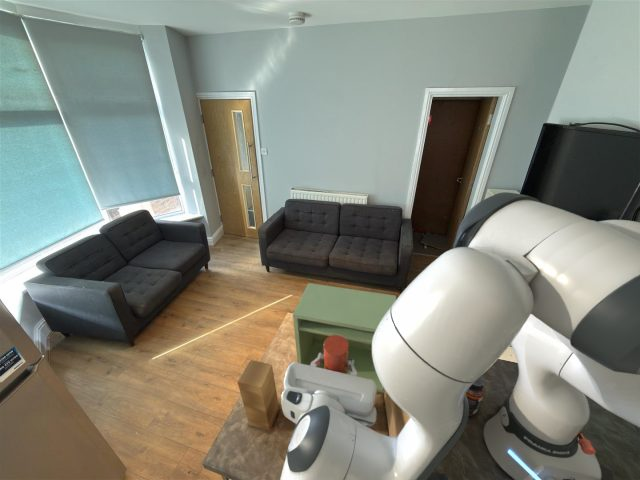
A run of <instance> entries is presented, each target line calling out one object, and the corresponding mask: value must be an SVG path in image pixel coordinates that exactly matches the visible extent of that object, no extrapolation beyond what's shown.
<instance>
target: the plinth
mask: <svg viewBox="0 0 640 480" xmlns="http://www.w3.org/2000/svg"><path fill="white" fill-rule="evenodd" d="M237 386H238V390H239V393H240V397H241V400H242V404H243V407H244V411H245V416H246V420H247V423H248V426H252V427H255V428H258V429H262V430H266V431H269V432H271V431H272V428H273V425H274V422H275V419H276V417H277V415H278V412H279V409H280V404H279V397H278V392H277V386H276V380H275V375H274V369H273V364H272V363H267V362H264V361H257V360H255V359H249V360H248V362H247V364H246V366H245V367H244V369H243V370H242V373H240V376H239V378H238V379H237Z"/></svg>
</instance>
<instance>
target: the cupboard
mask: <svg viewBox="0 0 640 480" xmlns="http://www.w3.org/2000/svg"><path fill="white" fill-rule="evenodd" d="M396 300H397V295H394V294H387V293H382V292H381V293H380V292H374V291H368V290H367V291H366V290H359V289H355V288H354V289H353V288H346V287H339V286H333V285H332V286H331V285H326V284H319V283H312V282H308V283H307V285H306V287H305V289H304V290H303V292H302V295H301V297H300V299H299V301H298V303H297V305H296V307H295V309H294V311H293V313H292V320H293V330H294V340H295V350H296V361H297V362H296V363H300V364H305V365H309V366H310V365H311V362H312V361H314V360H315V359H316V358H318V355H319V353H323V354H324V341H325V340H326V339H327V338H328V337H329V336H332V335H339V336H342V337H344V338H345V339H346V340H347V341H348V344H349V352H348V359H352V360H354V367H355V369H356V372H357V376H358V377H363V378H367V379H371V380H374V381H375V383H376V384H377V393H381V394H385V389H384V387H383V386H382V384H381V382H380V380H379V378H378V375H377V373H376V370H375V367H374V363H373V358H372V339H373V336H374V333H375V331H376V329H377V327H378V325H379V323H380V321H381V320H382V318H383V317H384V315H385V314H386V313H387V311H388V310H389V309H390V307H391V306H392V305H393V303H394V302H395V301H396ZM317 367H318V368H323V369H324V364H321V363H320V364H319V365H318V366H317ZM347 374H349V375H350V374H351V371H350V370H348V372H347Z"/></svg>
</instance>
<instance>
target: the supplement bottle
mask: <svg viewBox="0 0 640 480" xmlns="http://www.w3.org/2000/svg"><path fill="white" fill-rule="evenodd" d="M484 384H485V382H484V379H483V377H482V376H481V377H480V378H479V379H478V380H477V381H475V382H474V383H473V384H472V385H471V387H470V388H469V389H468V390H467V392H466V396H467V399H468V404H469V416H475V415H476V413H477V412H478V410H479V408H480V406H481V404H482V401H483V398H484V396H485V394H486V388H485V385H484Z"/></svg>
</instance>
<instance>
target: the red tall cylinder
mask: <svg viewBox="0 0 640 480" xmlns="http://www.w3.org/2000/svg"><path fill="white" fill-rule="evenodd" d="M348 352H349V344H348V341H347V340H346V339H345V338H344V337H342V336H339V335H332V336H329V337H328V338H327V339H326V340H325V341H324V369H327V370H331V371H336V372H340V373H345V374H347V372H348V369H347V363H348Z"/></svg>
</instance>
